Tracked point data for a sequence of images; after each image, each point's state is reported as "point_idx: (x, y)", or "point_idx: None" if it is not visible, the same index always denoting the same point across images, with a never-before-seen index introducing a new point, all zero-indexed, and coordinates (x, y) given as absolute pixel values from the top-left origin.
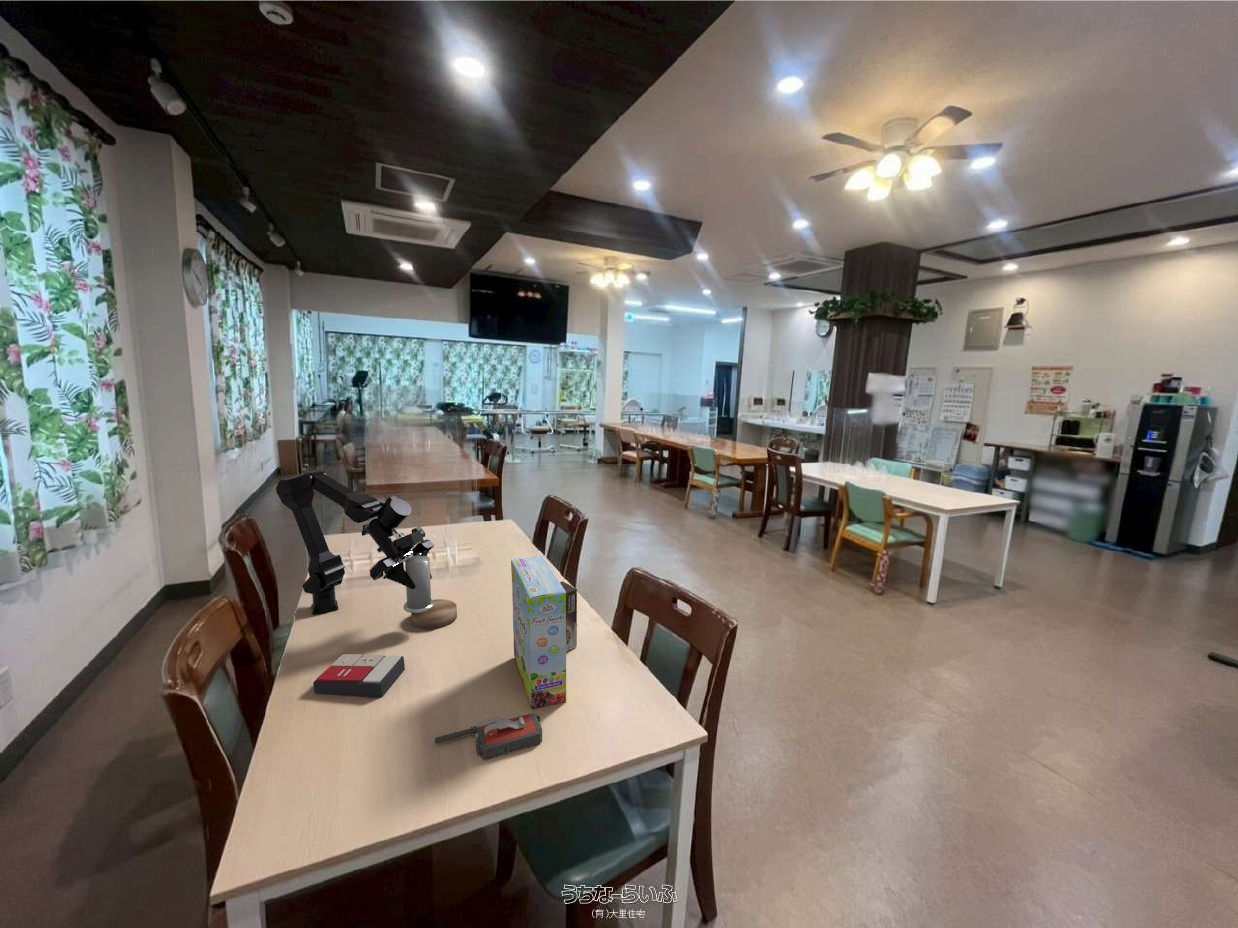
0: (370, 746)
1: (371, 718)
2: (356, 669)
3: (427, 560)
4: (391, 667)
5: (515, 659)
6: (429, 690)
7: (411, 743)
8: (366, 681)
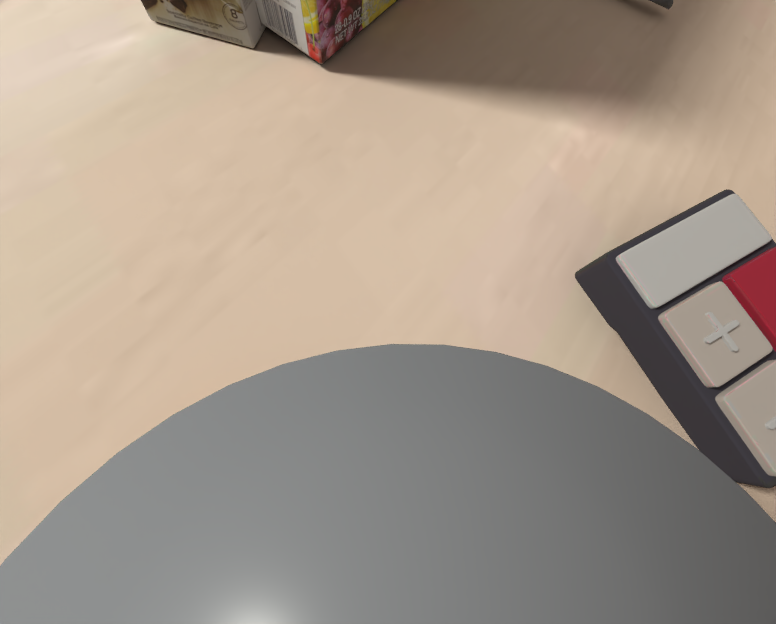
0: (765, 101)
1: (736, 167)
2: (773, 313)
3: (234, 435)
4: (673, 225)
5: (343, 41)
6: (578, 141)
7: (696, 49)
8: (762, 227)
